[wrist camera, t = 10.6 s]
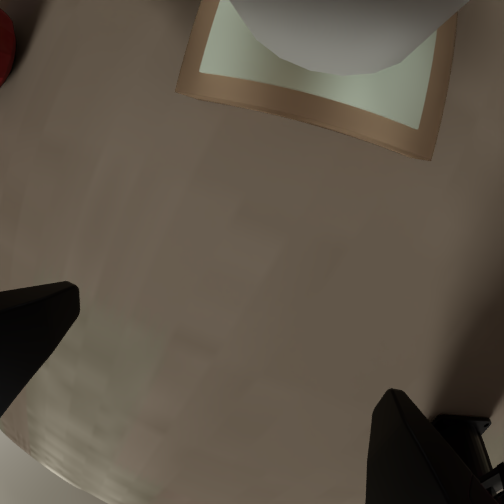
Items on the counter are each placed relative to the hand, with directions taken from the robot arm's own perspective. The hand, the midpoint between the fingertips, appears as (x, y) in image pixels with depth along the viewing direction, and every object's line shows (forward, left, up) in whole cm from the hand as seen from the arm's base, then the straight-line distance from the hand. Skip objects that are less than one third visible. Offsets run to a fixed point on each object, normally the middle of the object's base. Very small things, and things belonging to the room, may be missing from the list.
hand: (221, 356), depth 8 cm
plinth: (0, -12, -10) cm, 15 cm away
